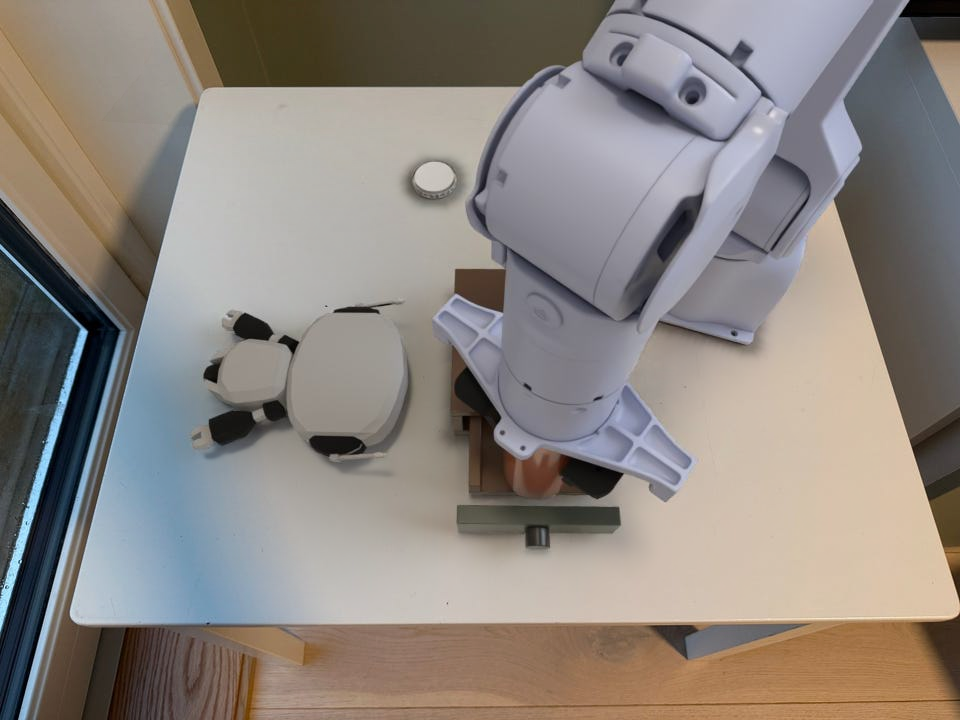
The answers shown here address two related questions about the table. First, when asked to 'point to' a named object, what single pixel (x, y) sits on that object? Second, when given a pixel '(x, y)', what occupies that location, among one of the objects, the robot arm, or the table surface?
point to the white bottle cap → (434, 179)
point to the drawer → (521, 518)
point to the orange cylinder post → (535, 473)
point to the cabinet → (486, 293)
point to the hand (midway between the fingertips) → (540, 445)
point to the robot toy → (311, 381)
